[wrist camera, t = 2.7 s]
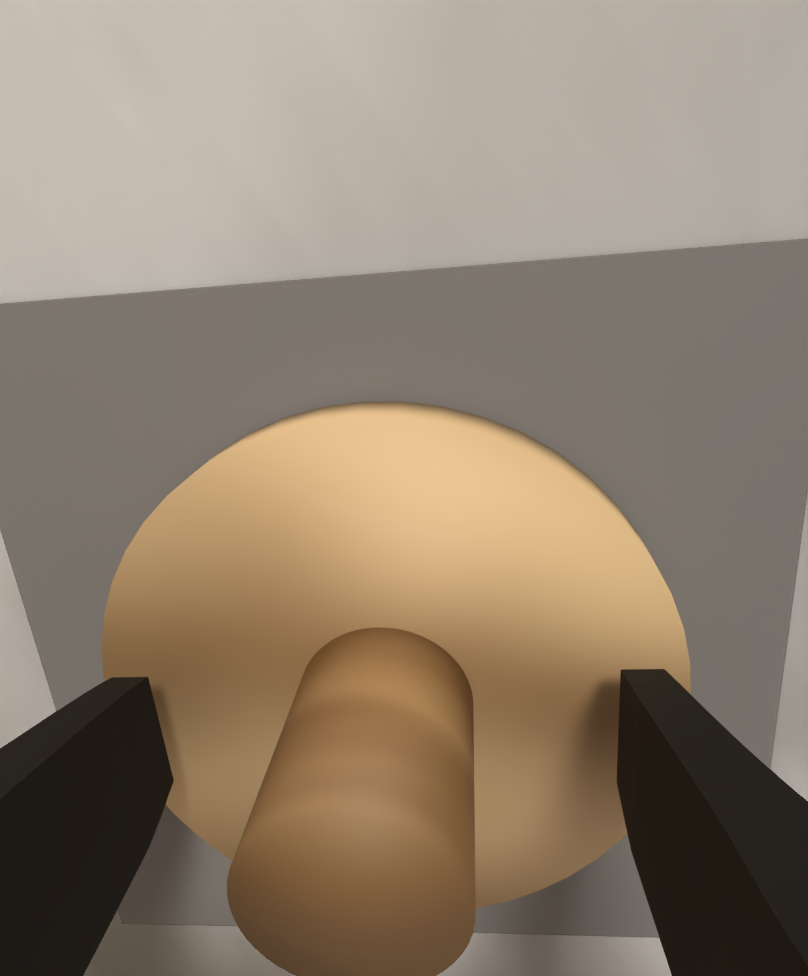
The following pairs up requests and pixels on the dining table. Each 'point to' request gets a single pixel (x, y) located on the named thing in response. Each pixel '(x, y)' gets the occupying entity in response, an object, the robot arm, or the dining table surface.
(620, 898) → the mat
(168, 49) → the dining table surface
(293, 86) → the dining table surface
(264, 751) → the lid
